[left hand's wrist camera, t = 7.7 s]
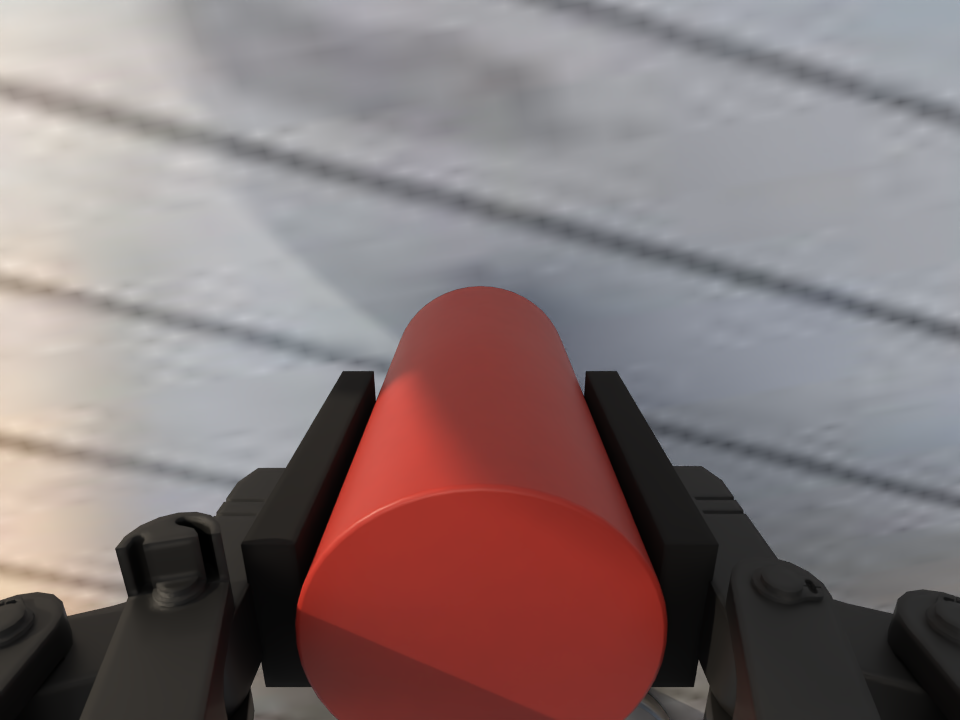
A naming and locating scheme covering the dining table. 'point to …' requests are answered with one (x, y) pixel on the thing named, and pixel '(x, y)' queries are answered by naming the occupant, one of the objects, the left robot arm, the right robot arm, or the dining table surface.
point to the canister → (481, 539)
